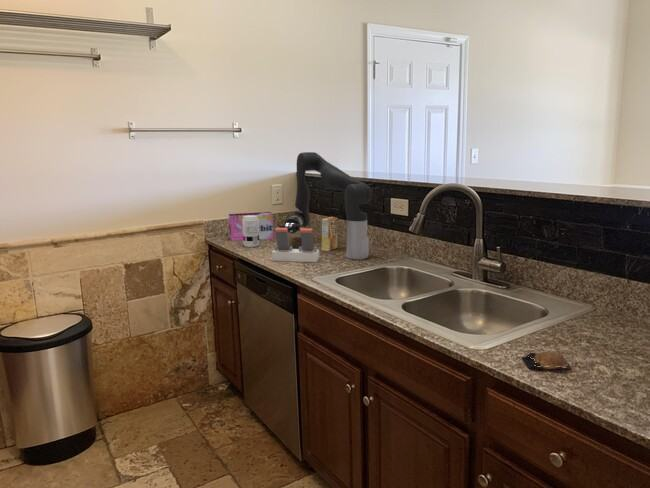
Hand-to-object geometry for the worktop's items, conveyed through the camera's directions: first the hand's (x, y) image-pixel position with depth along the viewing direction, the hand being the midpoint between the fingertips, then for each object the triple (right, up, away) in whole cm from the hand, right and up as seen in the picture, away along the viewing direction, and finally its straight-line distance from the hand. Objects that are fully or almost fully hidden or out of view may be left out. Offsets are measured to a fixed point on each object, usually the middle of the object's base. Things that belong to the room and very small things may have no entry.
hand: (286, 230), depth 230 cm
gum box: (-21, -3, +39) cm, 44 cm away
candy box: (+20, -9, +13) cm, 25 cm away
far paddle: (0, -8, -8) cm, 12 cm away
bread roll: (+71, -36, -111) cm, 136 cm away
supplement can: (-19, -7, +20) cm, 29 cm away
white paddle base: (+5, -13, -8) cm, 16 cm away
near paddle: (+10, -8, -10) cm, 17 cm away
